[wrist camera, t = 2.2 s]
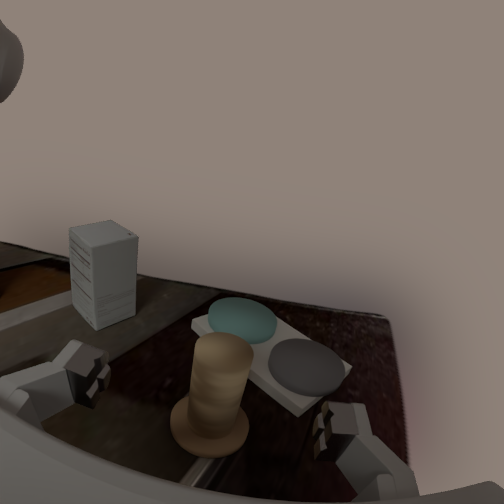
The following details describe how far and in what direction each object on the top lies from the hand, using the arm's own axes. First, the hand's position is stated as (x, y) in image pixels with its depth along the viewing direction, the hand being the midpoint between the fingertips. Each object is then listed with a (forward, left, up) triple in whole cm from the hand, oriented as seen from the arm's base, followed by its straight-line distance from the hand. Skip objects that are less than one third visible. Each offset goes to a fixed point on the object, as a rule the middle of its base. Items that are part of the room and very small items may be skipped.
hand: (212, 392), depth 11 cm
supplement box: (-32, +8, -19) cm, 38 cm away
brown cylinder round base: (-8, +9, -19) cm, 23 cm away
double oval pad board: (-13, +24, -19) cm, 34 cm away
